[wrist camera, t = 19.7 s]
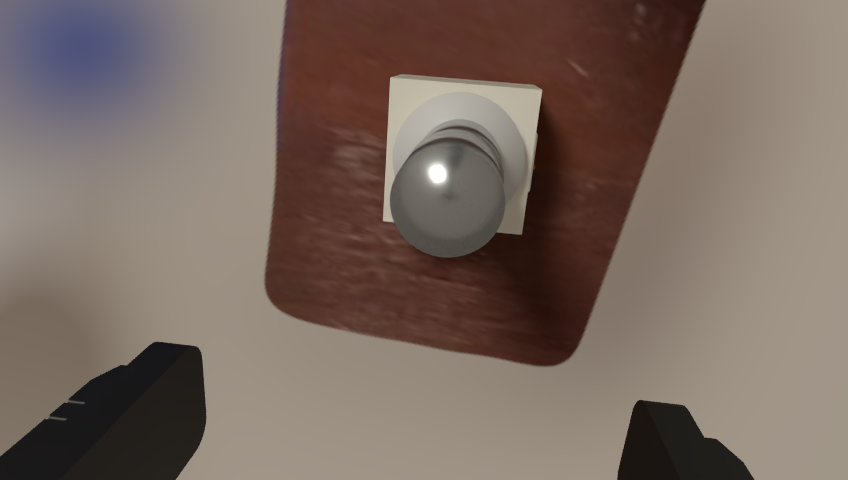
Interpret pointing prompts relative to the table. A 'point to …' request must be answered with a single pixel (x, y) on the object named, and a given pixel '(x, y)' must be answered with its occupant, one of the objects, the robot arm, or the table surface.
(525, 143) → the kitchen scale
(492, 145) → the cylinder
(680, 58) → the table surface
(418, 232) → the cylinder
